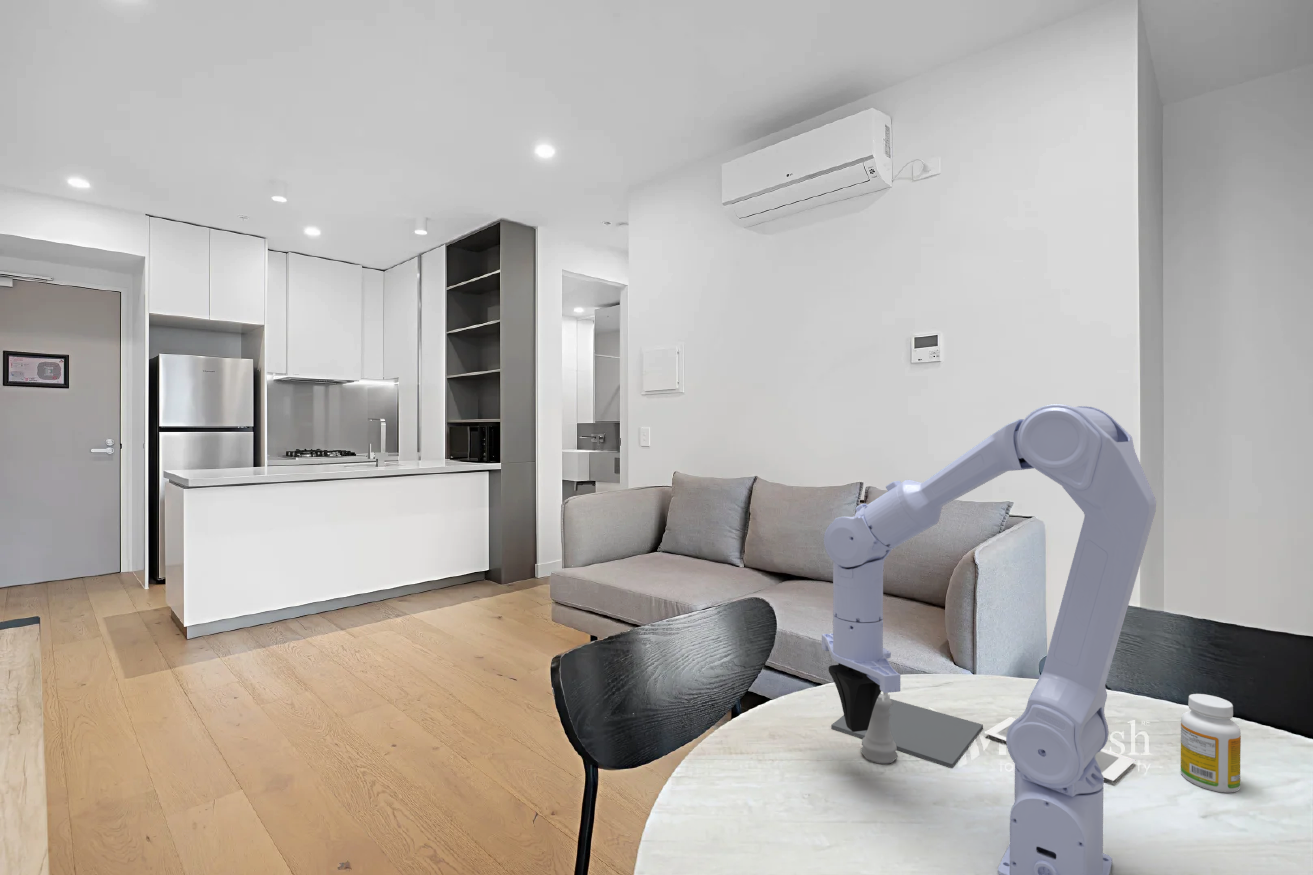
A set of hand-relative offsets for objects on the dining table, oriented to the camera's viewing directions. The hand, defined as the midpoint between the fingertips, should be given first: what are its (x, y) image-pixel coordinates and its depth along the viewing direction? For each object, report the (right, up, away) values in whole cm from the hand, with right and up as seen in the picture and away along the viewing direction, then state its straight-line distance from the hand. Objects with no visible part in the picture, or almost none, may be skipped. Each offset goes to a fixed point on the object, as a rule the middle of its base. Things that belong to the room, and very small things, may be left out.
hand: (857, 728), depth 77 cm
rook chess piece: (+4, -6, +5) cm, 9 cm away
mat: (+11, -6, +13) cm, 18 cm away
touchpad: (+28, -7, +7) cm, 30 cm away
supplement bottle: (+42, -6, -1) cm, 42 cm away
